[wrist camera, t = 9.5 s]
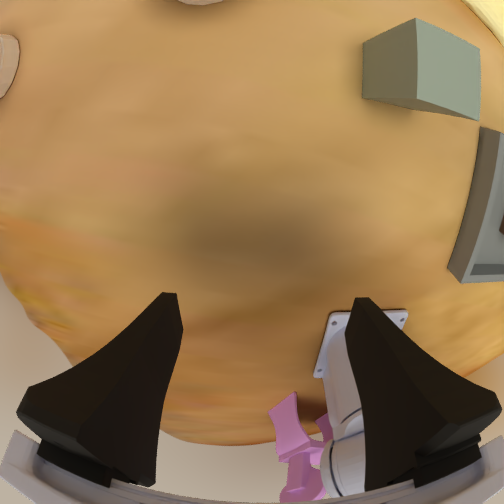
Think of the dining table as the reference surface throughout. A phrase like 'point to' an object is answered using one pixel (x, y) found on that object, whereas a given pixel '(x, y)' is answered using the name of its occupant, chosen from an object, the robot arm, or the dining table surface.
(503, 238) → the tray
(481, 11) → the cloth
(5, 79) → the white cup
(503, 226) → the short block
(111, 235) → the dining table surface
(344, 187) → the dining table surface
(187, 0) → the shot glass
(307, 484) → the toy chair
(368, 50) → the tall block
